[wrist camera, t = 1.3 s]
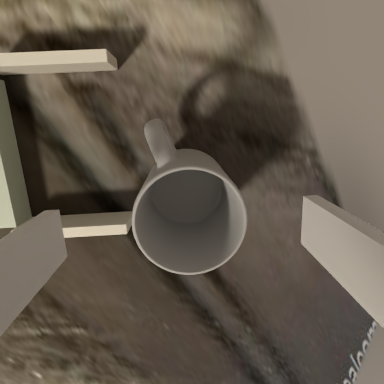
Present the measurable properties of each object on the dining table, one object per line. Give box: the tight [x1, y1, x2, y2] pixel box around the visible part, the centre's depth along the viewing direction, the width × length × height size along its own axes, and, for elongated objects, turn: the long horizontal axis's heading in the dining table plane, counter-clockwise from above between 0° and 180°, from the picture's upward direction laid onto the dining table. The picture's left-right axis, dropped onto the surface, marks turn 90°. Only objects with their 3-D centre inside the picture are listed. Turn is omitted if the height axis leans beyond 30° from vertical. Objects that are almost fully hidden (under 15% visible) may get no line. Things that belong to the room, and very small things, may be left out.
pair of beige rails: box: [0, 49, 132, 238], centre depth 27 cm, size 19×16×4 cm
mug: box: [132, 119, 248, 275], centre depth 25 cm, size 12×8×11 cm
